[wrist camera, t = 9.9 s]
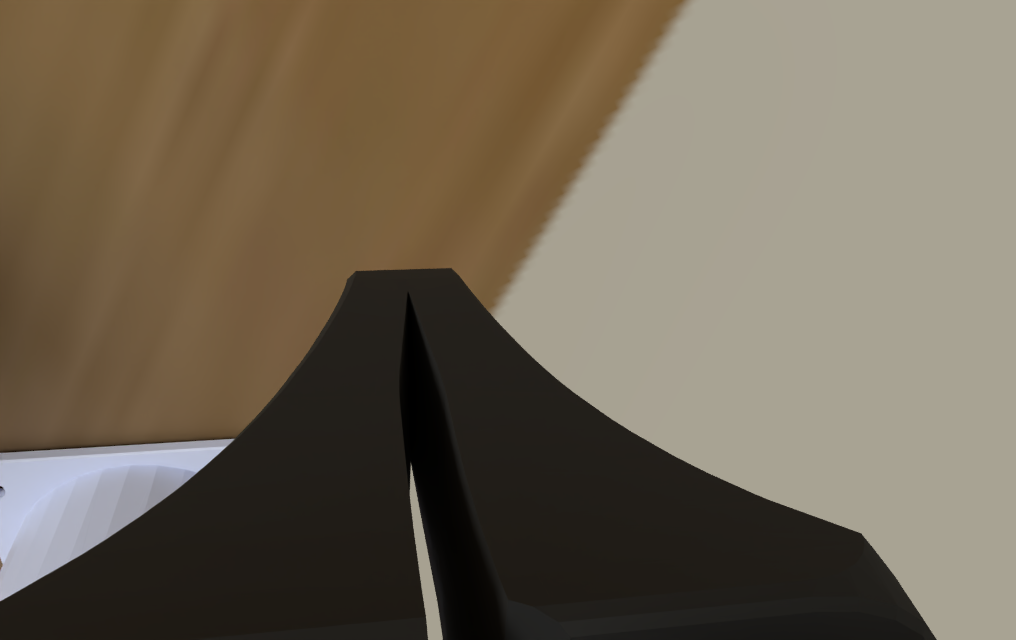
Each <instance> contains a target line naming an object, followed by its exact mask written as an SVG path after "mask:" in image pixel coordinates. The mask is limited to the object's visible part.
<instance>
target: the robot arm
mask: <svg viewBox="0 0 1016 640" xmlns="http://www.w3.org/2000/svg"><path fill="white" fill-rule="evenodd" d="M411 465H412V470H413V476H414V481H415V486H416V492H417V497H418V502H419V507H420V513H421V518H422V523H423V529H424V534H425V539H426V544H427V549H428V555H429V560H430V565H431V570H432V575H433V581H434V585H435V591H436V596H437V601H438V608H439V615H440V621H441V628H442V635H443V640H936V638H935V637H934V635H933V634H932V632H931V630H930V629H929V627H928V626H927V624H926V623H925V621H924V620H923V618H922V617H921V615H920V614H919V612H918V611H917V609H916V608H915V606H914V605H913V603H912V602H911V600H910V599H909V597H908V596H907V594H906V593H905V591H904V590H903V588H902V587H901V585H900V584H899V582H898V580H897V579H896V577H895V576H894V575H893V574H892V572H891V571H890V570H889V568H888V567H887V566H886V564H885V563H884V562H883V560H882V559H881V558H880V557H879V555H878V554H877V553H876V551H875V550H874V549H873V548H872V546H871V545H870V544H869V543H868V541H867V540H866V539H865V538H864V537H863V535H862V534H861V533H858V532H855V531H853V530H850V529H847V528H844V527H842V526H839V525H836V524H833V523H831V522H828V521H825V520H823V519H820V518H817V517H814V516H811V515H809V514H806V513H803V512H800V511H797V510H794V509H792V508H789V507H787V506H784V505H781V504H778V503H775V502H773V501H770V500H767V499H765V498H763V497H760V496H758V495H755V494H753V493H751V492H749V491H746V490H744V489H742V488H740V487H738V486H735V485H733V484H731V483H728V482H726V481H724V480H722V479H720V478H718V477H715V476H713V475H711V474H708V473H706V472H705V471H703V470H700V469H698V468H696V467H694V466H692V465H691V464H688V463H687V462H685V461H683V460H681V459H678V458H676V457H675V456H673V455H671V454H669V453H668V452H666V451H664V450H662V449H661V448H659V447H657V446H655V445H654V444H652V443H650V442H648V441H647V440H645V439H643V438H641V437H639V436H638V435H636V434H634V433H632V432H631V431H629V430H628V429H626V428H625V427H623V426H621V425H620V424H618V423H617V422H615V421H613V420H612V419H610V418H609V417H607V416H606V415H604V414H603V413H602V412H600V411H599V410H598V409H596V408H595V407H593V406H592V405H590V404H589V403H588V402H586V401H585V400H583V399H582V398H580V397H579V396H578V395H576V394H575V393H573V392H572V391H571V390H570V389H568V388H567V387H566V386H565V385H563V384H562V383H561V382H560V381H558V380H557V379H556V378H555V377H554V376H552V375H551V374H550V373H549V372H548V371H547V370H545V369H544V368H543V367H542V366H541V365H540V364H539V363H538V362H537V361H535V359H533V358H532V357H531V356H530V355H529V354H528V353H527V352H526V351H525V350H524V349H523V348H522V347H521V346H520V345H519V344H518V343H517V342H516V341H515V340H514V339H513V338H512V337H511V336H510V335H509V334H508V333H507V332H506V330H505V329H504V328H503V327H502V326H501V325H500V324H499V323H498V322H497V321H496V320H495V319H494V318H493V316H492V315H491V314H490V313H489V312H488V311H487V310H486V308H485V307H484V306H483V305H482V304H481V303H480V301H479V300H478V299H477V298H476V297H475V295H474V294H473V293H472V292H471V290H470V289H469V288H468V287H467V285H466V284H465V283H464V282H463V280H462V279H461V278H460V276H459V275H458V274H457V273H456V272H455V271H453V270H452V269H451V268H442V269H410V270H377V271H356V272H355V273H354V274H353V275H352V276H351V277H350V278H348V279H347V283H346V286H345V289H344V291H343V293H342V295H341V298H340V300H339V302H338V304H337V306H336V307H335V309H334V311H333V313H332V315H331V316H330V318H329V320H328V322H327V323H326V325H325V327H324V328H323V330H322V331H321V333H320V334H319V336H318V337H317V339H316V341H315V342H314V344H313V345H312V347H311V348H310V350H309V351H308V353H307V354H306V356H305V357H304V359H303V360H302V361H301V363H300V364H299V365H298V366H297V368H296V369H295V370H294V372H293V373H292V374H291V376H290V377H289V378H288V379H287V381H286V382H285V383H284V385H283V386H282V387H281V389H280V390H279V391H278V392H277V394H276V395H275V396H274V397H273V398H272V400H271V401H270V402H269V403H268V404H267V405H266V406H265V408H264V409H263V410H262V411H261V412H260V413H259V414H258V415H257V416H256V417H255V419H254V420H253V421H252V422H251V423H250V424H249V425H248V426H247V427H246V428H245V429H244V430H243V431H242V432H241V433H240V434H239V435H238V436H237V437H236V438H235V439H223V440H207V441H190V442H174V443H157V444H141V445H124V446H108V447H91V448H75V449H59V450H42V451H26V452H9V453H0V486H1V487H3V489H2V488H0V558H1V561H2V563H3V566H2V569H1V571H0V640H428V636H427V624H426V615H425V608H424V601H423V595H422V589H421V581H420V574H419V567H418V559H417V552H416V544H415V538H414V529H413V521H412V513H411V504H410V467H411Z"/></svg>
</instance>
